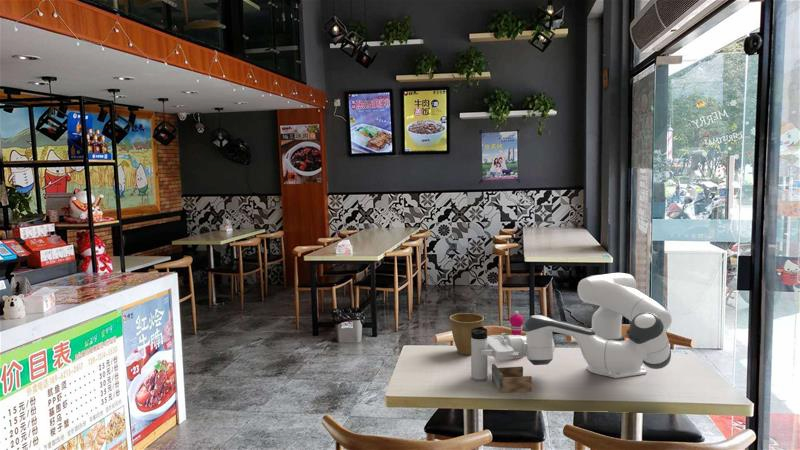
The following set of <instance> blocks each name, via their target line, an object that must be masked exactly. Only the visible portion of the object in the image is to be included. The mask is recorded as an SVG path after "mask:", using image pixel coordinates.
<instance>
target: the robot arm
mask: <svg viewBox="0 0 800 450" xmlns="http://www.w3.org/2000/svg"><path fill="white" fill-rule="evenodd" d="M577 294H578V297H579V299H580V300H581V301H582V302H583V303H585V304H590V305H596V306H599V307H598V308H597V310H596V311H594V313H593V314H592V315H591V328H589V327H586V326H583V325H579V324H574V323H570V322H568V321H562V320H558V319H555V318H551V317H548V316H545V315H542V314H541V315H540V314H535V315H530V316H529V317H528V318H527V319H526V321H525V322H524V329H525V335H522V334H521V335H512V334H509V333H505V332H502V333H501V334H492V335H487V350H484V349H483V350H480V354H481V355H487V357H493V358H494V360H496V361H499V362H500V361H509V360H513V359H522V357H523V358H527V360H528V361H529V362H530V363H531V364H532V365H534V366H543V365H545V366H546V365H549V364H550V363H551V362H552V361H553V359H554V352H555V348H556V347H555V346H556V345H555V340H554V338H553V332H554V333H558V334H563V335H565V336H570V337H571V338H573V339H574V340H575V342H576V343H577V345H578V346H579V349H580V352H581V355H582V357H583V359H584V360H585V362H586V363H587V366H586V369H587V370H588V371H589V372H590V373H592V374H596V375H598V376H599V375H600V376H605V377H609V378H613V379H619V378H627V377H634V376H638V375H639V376H640V375H646V374H647V368H649V369H652V370H653V369H654V370H659V369H664V368H665V367H667V366H668V365H669V363H670V362H671V357H672V351H671V347H670V340H669V338H668V335H667V332H666V331H668V329H670V327H671V325H672V320H673V319H672V315H671V313H670V312H669V311H668V310H667V309H666V308H665V307H663V305H661V304H660V303H659V302H658V301H656V300H655V299H653V298H652V297H650V296H648V295H646V294H645V293H643V292H641V291H640V290H639V289H638V285H637V281H636V279H635V277H634V276H633V275H632V274H630V273H624V272H612V273H605V274H595V275H590V276H587V277H585V278H582V279H581V280H580V281H579V282H578V285H577ZM623 317H624V318H625V319H627V320H629V321H630V324H629V328H628V329H627V330H626V332H625V333H626V334H625V335H626V337H625V336H623V335H622V323H623V322H622V321H623V320H622V319H623ZM643 365H644V366H643ZM646 367H647V368H646Z"/></svg>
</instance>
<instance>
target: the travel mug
mask: <svg viewBox="0 0 800 450" xmlns="http://www.w3.org/2000/svg"><path fill="white" fill-rule="evenodd" d="M487 336H488V329H487V328H485V327H484V326H483V327H477V328H473V329H472V330H471V355H470V358H471V361H470V362H471V364H470V366H471V367H470V368H471V369H470V370H471V371H470V372H471V373H470V374H471V375H470V377H471V380H472V381H474V382H480V383H481V382H486V381H487V380H488V375H489V373H488V356H487V355H481V354H480V350H483V349H484V350H487Z"/></svg>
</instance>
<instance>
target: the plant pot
mask: <svg viewBox="0 0 800 450" xmlns="http://www.w3.org/2000/svg"><path fill="white" fill-rule="evenodd" d="M484 320H485V318H484V316H482V315H481V314H476V313H470V312H469V313H466V312H464V313H463V312H459V313H455V314H452V315H450V316H449V322H450V323H449V324H450V328H451V329H450V330H451V333H452V337H453V340H454V344H455V347H456V351H457V352H459V353H460V354H459V353H458V354H459V355H462V354H465V355H464V356H471V330H472V329H473V328H477V327H484Z"/></svg>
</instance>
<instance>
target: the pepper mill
mask: <svg viewBox="0 0 800 450" xmlns="http://www.w3.org/2000/svg"><path fill="white" fill-rule="evenodd" d="M509 323H510V330H511V335H521V336H522V331H523V324H524V323H525V322H524V316H522V315H521V314H519V311H518V310H515V311H514V314H512V315H511V316H510V317H509ZM522 358H524V357H522ZM522 358H521V359H522Z"/></svg>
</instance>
